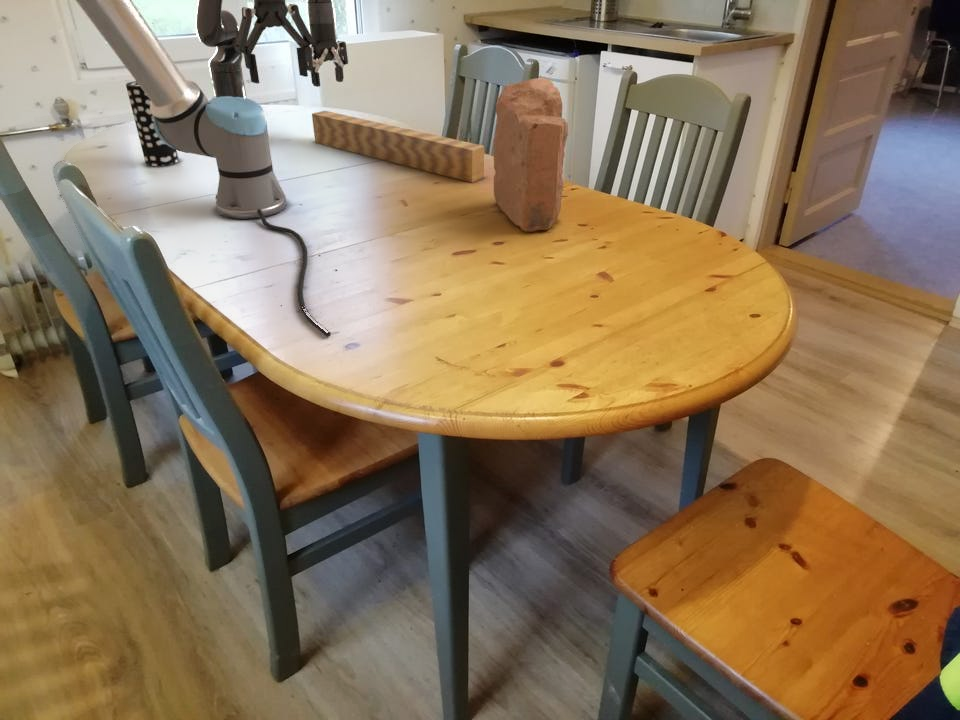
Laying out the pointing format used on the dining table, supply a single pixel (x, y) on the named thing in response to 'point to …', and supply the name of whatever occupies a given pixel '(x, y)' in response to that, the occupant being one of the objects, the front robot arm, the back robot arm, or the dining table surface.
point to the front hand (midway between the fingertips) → (280, 79)
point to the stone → (529, 153)
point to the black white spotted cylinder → (148, 129)
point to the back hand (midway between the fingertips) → (328, 83)
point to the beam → (400, 145)
